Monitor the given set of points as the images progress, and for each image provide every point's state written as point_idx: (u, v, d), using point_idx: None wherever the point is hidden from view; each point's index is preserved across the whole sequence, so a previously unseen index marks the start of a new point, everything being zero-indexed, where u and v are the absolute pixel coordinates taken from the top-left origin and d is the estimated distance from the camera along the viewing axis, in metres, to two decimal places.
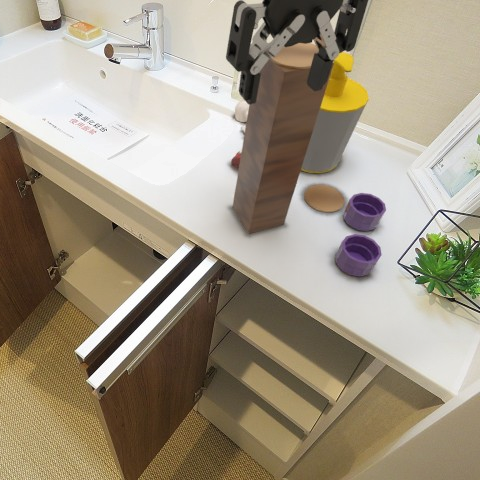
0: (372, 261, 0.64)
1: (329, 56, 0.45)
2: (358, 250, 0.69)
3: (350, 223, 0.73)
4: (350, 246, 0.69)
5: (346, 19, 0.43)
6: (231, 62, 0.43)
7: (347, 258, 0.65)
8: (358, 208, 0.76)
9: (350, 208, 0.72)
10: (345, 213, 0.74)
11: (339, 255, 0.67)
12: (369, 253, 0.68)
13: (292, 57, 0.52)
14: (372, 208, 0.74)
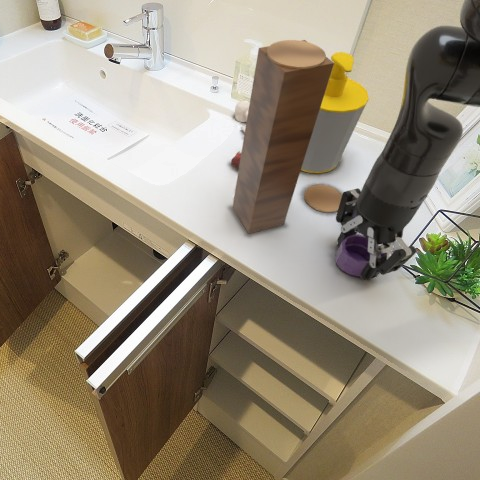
0: None
1: None
2: (358, 250, 0.69)
3: None
4: (350, 246, 0.69)
5: None
6: None
7: (347, 258, 0.65)
8: None
9: None
10: None
11: (339, 255, 0.67)
12: (369, 253, 0.68)
13: (292, 57, 0.52)
14: None
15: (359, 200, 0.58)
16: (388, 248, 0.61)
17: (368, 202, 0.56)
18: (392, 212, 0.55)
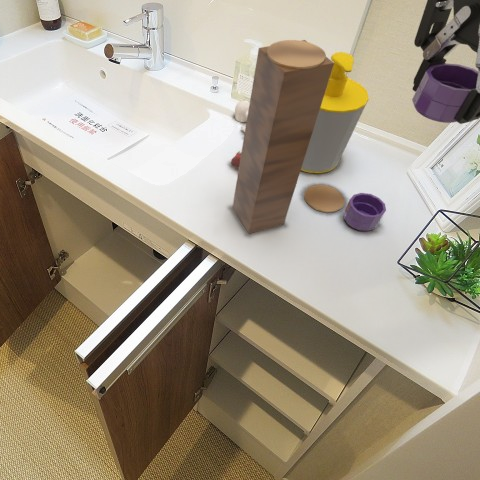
0: None
1: (476, 85, 0.41)
2: None
3: (350, 223, 0.73)
4: None
5: None
6: None
7: (437, 89, 0.43)
8: (358, 208, 0.76)
9: (350, 208, 0.72)
10: (345, 213, 0.74)
11: (421, 92, 0.45)
12: None
13: (292, 57, 0.52)
14: (372, 208, 0.74)
15: None
16: None
17: None
18: None
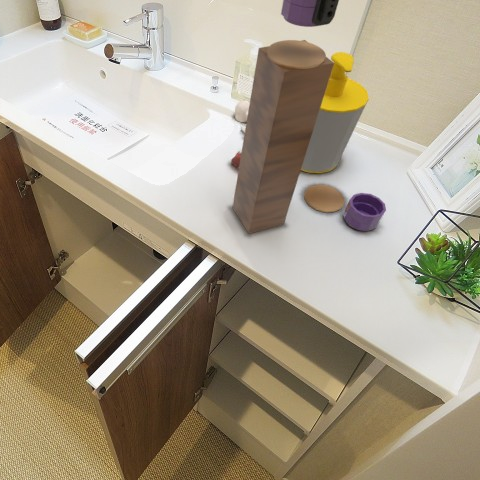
0: None
1: None
2: None
3: (350, 223, 0.73)
4: None
5: None
6: None
7: None
8: (358, 208, 0.76)
9: (350, 208, 0.72)
10: (345, 213, 0.74)
11: None
12: None
13: (292, 57, 0.52)
14: (372, 208, 0.74)
15: None
16: None
17: None
18: None
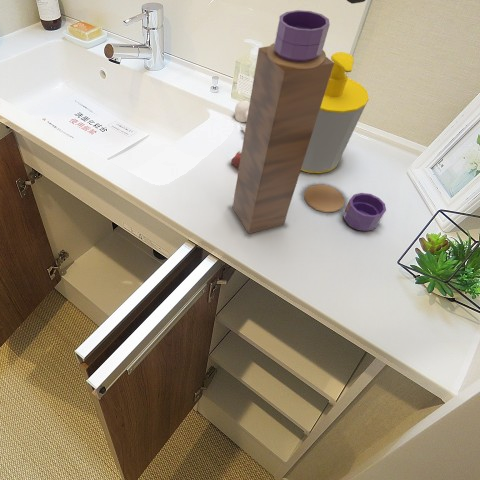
0: (316, 29, 0.48)
1: None
2: None
3: (350, 223, 0.73)
4: None
5: None
6: None
7: (284, 30, 0.50)
8: (358, 208, 0.76)
9: (350, 208, 0.72)
10: (345, 213, 0.74)
11: (276, 35, 0.51)
12: None
13: None
14: (372, 208, 0.74)
15: None
16: None
17: None
18: None
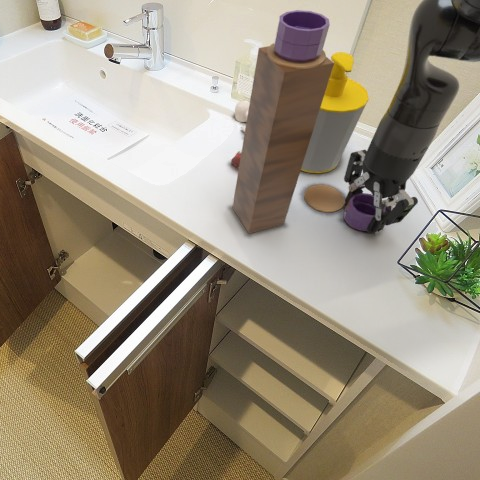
0: (316, 29, 0.48)
1: (375, 215, 0.69)
2: None
3: (350, 223, 0.73)
4: None
5: None
6: None
7: (284, 30, 0.50)
8: (358, 208, 0.76)
9: (350, 208, 0.72)
10: (345, 213, 0.74)
11: (276, 35, 0.51)
12: None
13: None
14: (372, 208, 0.74)
15: (366, 156, 0.65)
16: (392, 202, 0.68)
17: (374, 157, 0.63)
18: (396, 164, 0.61)
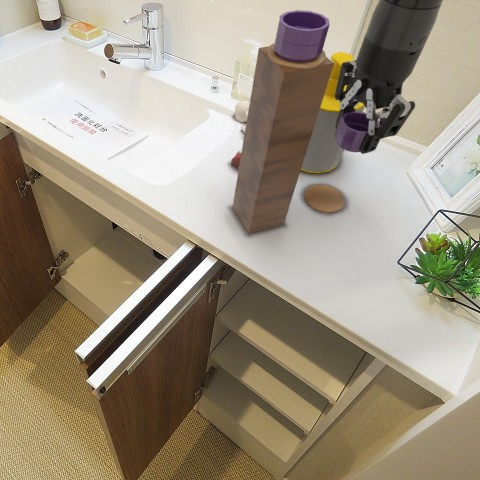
0: (316, 29, 0.48)
1: (368, 130, 0.62)
2: None
3: (341, 144, 0.67)
4: None
5: None
6: None
7: (284, 30, 0.50)
8: None
9: (341, 126, 0.65)
10: (336, 134, 0.68)
11: (276, 35, 0.51)
12: None
13: None
14: (365, 128, 0.68)
15: (358, 58, 0.58)
16: (387, 113, 0.61)
17: (367, 55, 0.56)
18: (391, 60, 0.54)
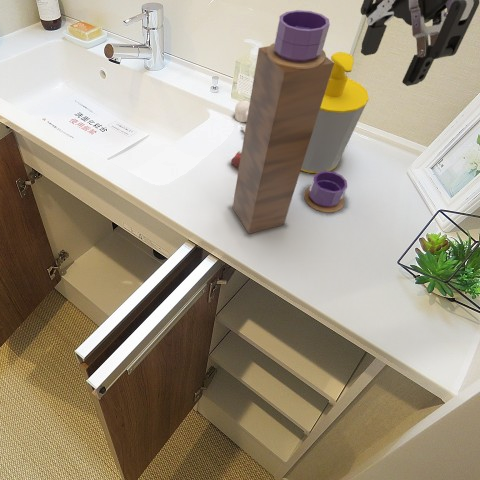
0: (316, 29, 0.48)
1: (417, 50, 0.49)
2: None
3: (314, 199, 0.77)
4: None
5: None
6: None
7: (284, 30, 0.50)
8: (323, 186, 0.79)
9: (314, 185, 0.76)
10: (310, 190, 0.78)
11: (276, 35, 0.51)
12: None
13: None
14: (335, 185, 0.78)
15: None
16: (439, 25, 0.47)
17: None
18: None
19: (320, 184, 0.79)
